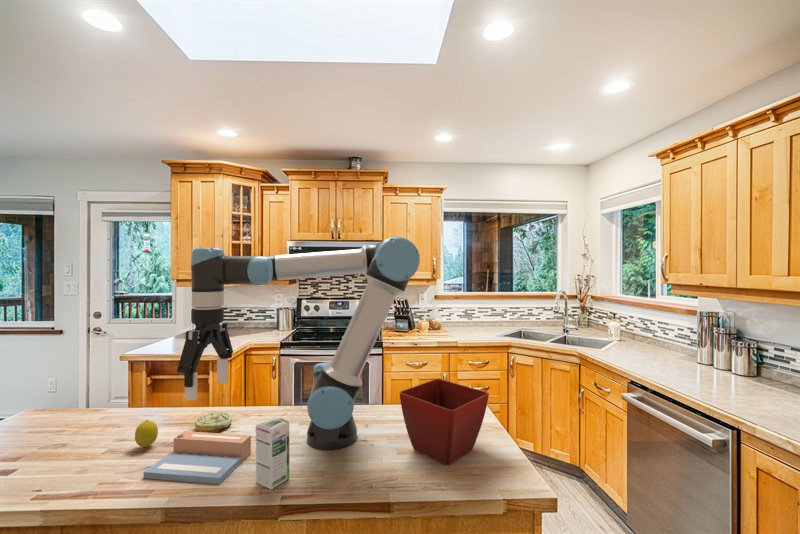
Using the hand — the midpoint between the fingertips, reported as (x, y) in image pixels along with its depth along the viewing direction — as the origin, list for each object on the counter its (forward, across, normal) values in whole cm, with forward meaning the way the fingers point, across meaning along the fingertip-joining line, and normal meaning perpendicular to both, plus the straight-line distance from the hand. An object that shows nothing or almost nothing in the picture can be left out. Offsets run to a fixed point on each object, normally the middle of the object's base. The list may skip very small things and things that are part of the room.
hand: (207, 390), depth 98 cm
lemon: (+20, -8, -24) cm, 32 cm away
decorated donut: (+21, -23, -13) cm, 33 cm away
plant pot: (+21, -18, +61) cm, 67 cm away
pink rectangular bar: (+20, -7, -3) cm, 22 cm away
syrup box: (+21, +3, +19) cm, 28 cm away
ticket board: (+20, +1, -3) cm, 21 cm away
